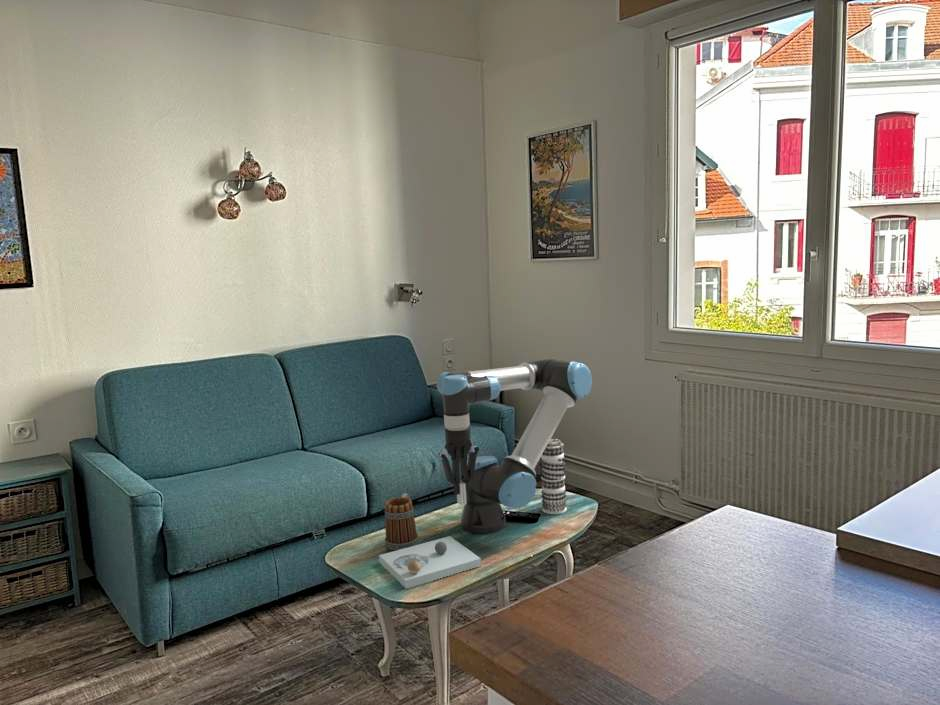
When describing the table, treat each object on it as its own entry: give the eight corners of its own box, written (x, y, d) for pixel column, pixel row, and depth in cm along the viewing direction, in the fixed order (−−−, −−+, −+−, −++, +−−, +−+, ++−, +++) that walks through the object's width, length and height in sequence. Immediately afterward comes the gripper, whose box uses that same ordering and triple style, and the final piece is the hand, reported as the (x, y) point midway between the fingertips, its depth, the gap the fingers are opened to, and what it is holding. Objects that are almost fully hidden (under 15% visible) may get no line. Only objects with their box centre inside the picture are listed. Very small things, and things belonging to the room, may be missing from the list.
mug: (413, 554, 223) (410, 507, 221) (380, 553, 225) (377, 507, 223) (426, 534, 238) (423, 490, 236) (395, 533, 240) (392, 489, 238)
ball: (443, 549, 219) (443, 538, 218) (449, 554, 216) (448, 542, 215) (433, 552, 217) (432, 541, 217) (438, 557, 214) (437, 545, 214)
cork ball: (417, 568, 207) (416, 557, 207) (422, 573, 204) (422, 561, 203) (406, 572, 205) (405, 560, 205) (411, 577, 202) (410, 564, 202)
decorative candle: (561, 503, 258) (558, 435, 255) (571, 512, 250) (569, 442, 246) (537, 507, 256) (534, 438, 252) (547, 516, 247) (544, 445, 243)
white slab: (450, 543, 229) (449, 536, 229) (481, 566, 212) (480, 558, 212) (379, 563, 218) (378, 555, 218) (406, 588, 201) (405, 580, 200)
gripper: (470, 421, 221) (475, 495, 224) (431, 428, 215) (436, 504, 218) (482, 426, 214) (487, 502, 218) (442, 433, 208) (448, 512, 212)
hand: (462, 503), depth 218 cm, fingers closed
